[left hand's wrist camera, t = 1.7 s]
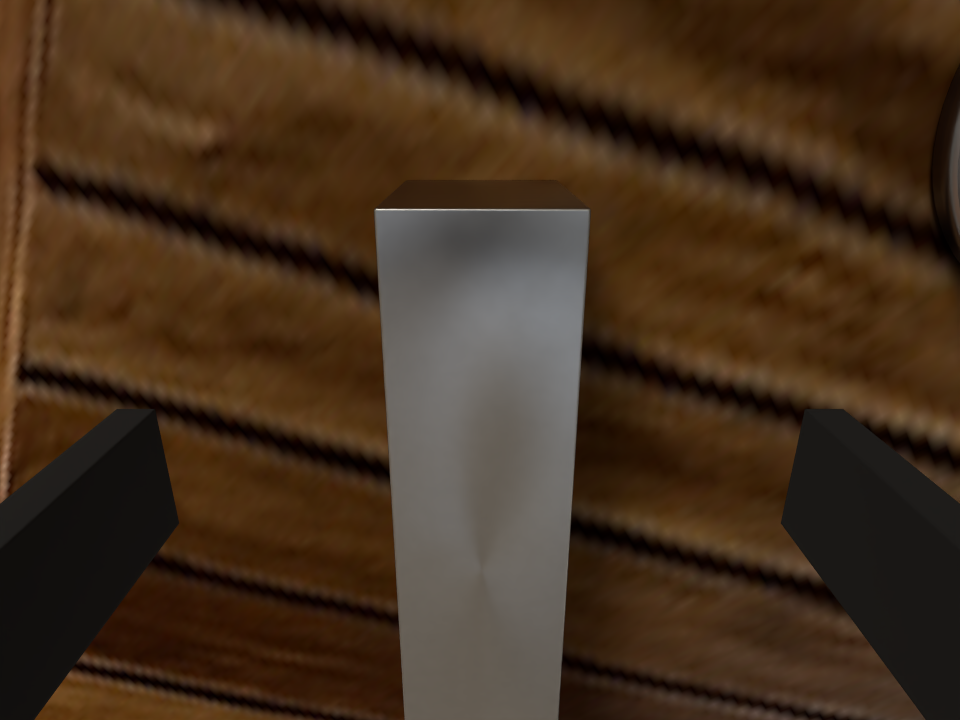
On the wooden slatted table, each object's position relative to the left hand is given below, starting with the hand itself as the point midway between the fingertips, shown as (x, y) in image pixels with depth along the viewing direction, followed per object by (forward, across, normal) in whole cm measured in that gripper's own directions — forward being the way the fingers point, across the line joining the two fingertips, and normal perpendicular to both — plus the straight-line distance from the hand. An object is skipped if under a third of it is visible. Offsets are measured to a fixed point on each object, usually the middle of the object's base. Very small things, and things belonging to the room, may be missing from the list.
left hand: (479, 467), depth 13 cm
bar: (+14, 0, -8) cm, 16 cm away
